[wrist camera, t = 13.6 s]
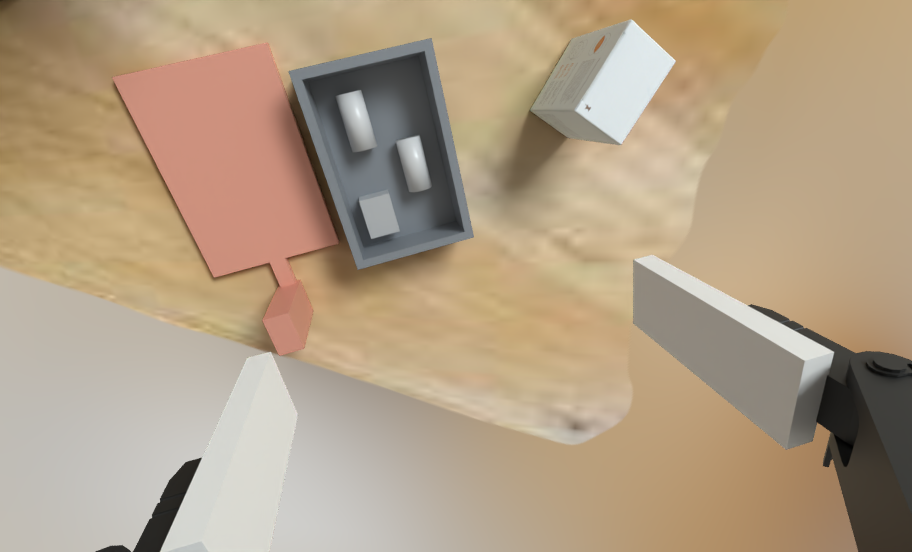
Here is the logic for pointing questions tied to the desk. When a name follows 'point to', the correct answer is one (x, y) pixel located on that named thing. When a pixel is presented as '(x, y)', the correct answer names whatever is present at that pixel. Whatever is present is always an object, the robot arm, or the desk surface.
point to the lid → (236, 170)
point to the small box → (603, 83)
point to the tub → (386, 150)
